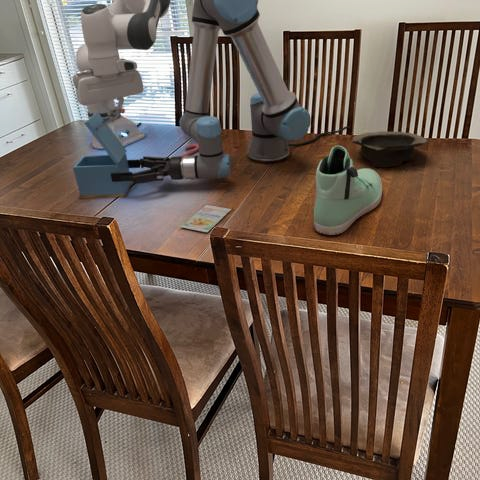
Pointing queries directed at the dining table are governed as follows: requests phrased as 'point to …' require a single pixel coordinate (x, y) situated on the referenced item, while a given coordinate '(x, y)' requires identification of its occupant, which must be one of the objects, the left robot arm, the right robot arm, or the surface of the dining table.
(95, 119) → the lid
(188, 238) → the dining table surface
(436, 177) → the dining table surface
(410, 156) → the stone bowl
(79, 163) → the chest
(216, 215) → the baking ingredient package
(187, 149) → the candy cane
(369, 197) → the sneaker
